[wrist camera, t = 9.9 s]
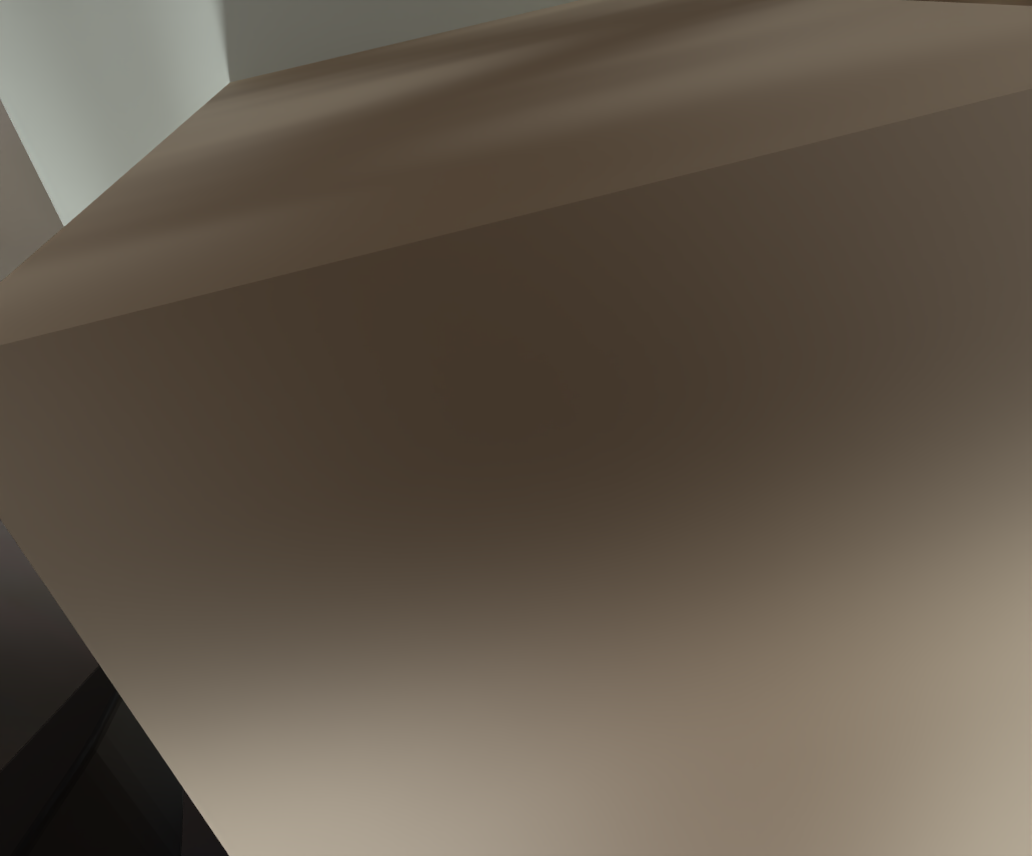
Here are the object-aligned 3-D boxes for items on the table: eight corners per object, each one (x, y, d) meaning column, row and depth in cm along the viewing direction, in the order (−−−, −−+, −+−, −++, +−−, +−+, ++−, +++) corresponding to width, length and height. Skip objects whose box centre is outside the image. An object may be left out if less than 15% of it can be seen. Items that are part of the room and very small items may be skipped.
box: (634, -13, 10) (1309, 18, 3) (695, 587, 15) (987, 1112, 8) (230, 82, 9) (-102, 369, 3) (435, 659, 15) (508, 1265, 8)
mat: (810, -256, 9) (828, -265, 9) (808, 615, 16) (818, 628, 16) (-66, -67, 9) (-83, -68, 8) (332, 747, 16) (332, 764, 15)
